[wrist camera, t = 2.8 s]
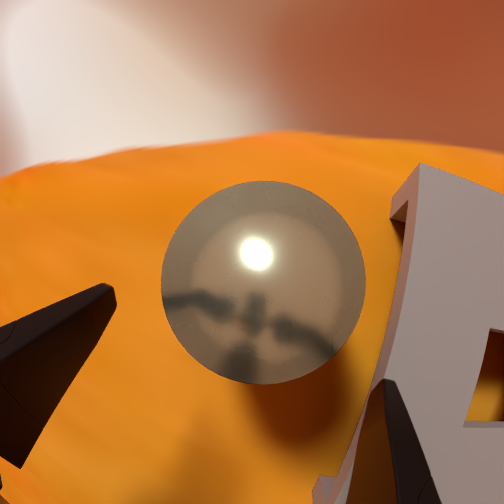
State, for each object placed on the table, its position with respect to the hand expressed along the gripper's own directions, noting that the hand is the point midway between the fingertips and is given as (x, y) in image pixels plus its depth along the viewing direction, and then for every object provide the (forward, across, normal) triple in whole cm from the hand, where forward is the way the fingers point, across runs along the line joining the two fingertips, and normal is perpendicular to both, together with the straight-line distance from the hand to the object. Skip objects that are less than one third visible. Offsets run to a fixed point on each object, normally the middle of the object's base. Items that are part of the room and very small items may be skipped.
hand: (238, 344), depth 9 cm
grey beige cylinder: (+8, 0, +5) cm, 9 cm away
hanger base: (+7, -14, +6) cm, 17 cm away
